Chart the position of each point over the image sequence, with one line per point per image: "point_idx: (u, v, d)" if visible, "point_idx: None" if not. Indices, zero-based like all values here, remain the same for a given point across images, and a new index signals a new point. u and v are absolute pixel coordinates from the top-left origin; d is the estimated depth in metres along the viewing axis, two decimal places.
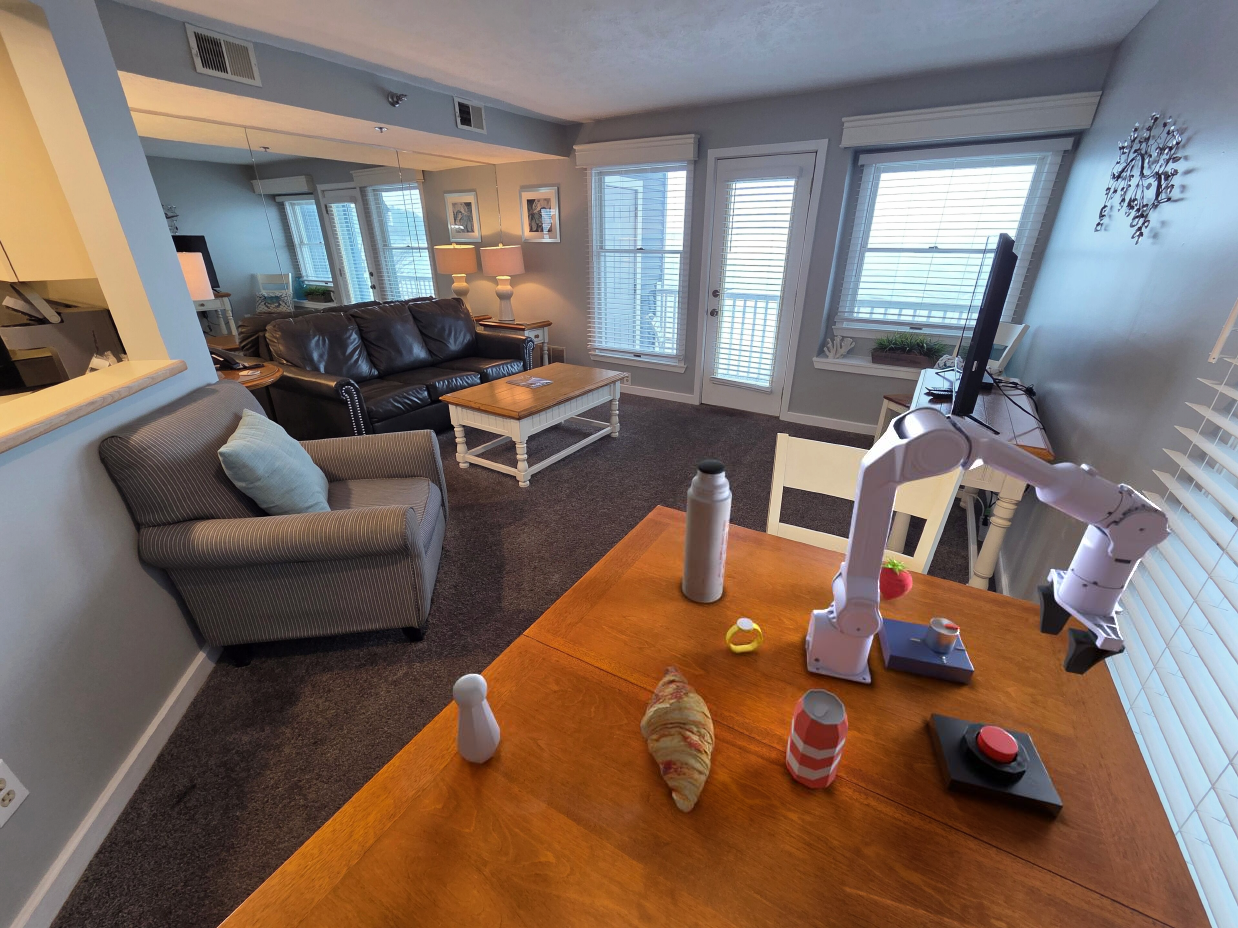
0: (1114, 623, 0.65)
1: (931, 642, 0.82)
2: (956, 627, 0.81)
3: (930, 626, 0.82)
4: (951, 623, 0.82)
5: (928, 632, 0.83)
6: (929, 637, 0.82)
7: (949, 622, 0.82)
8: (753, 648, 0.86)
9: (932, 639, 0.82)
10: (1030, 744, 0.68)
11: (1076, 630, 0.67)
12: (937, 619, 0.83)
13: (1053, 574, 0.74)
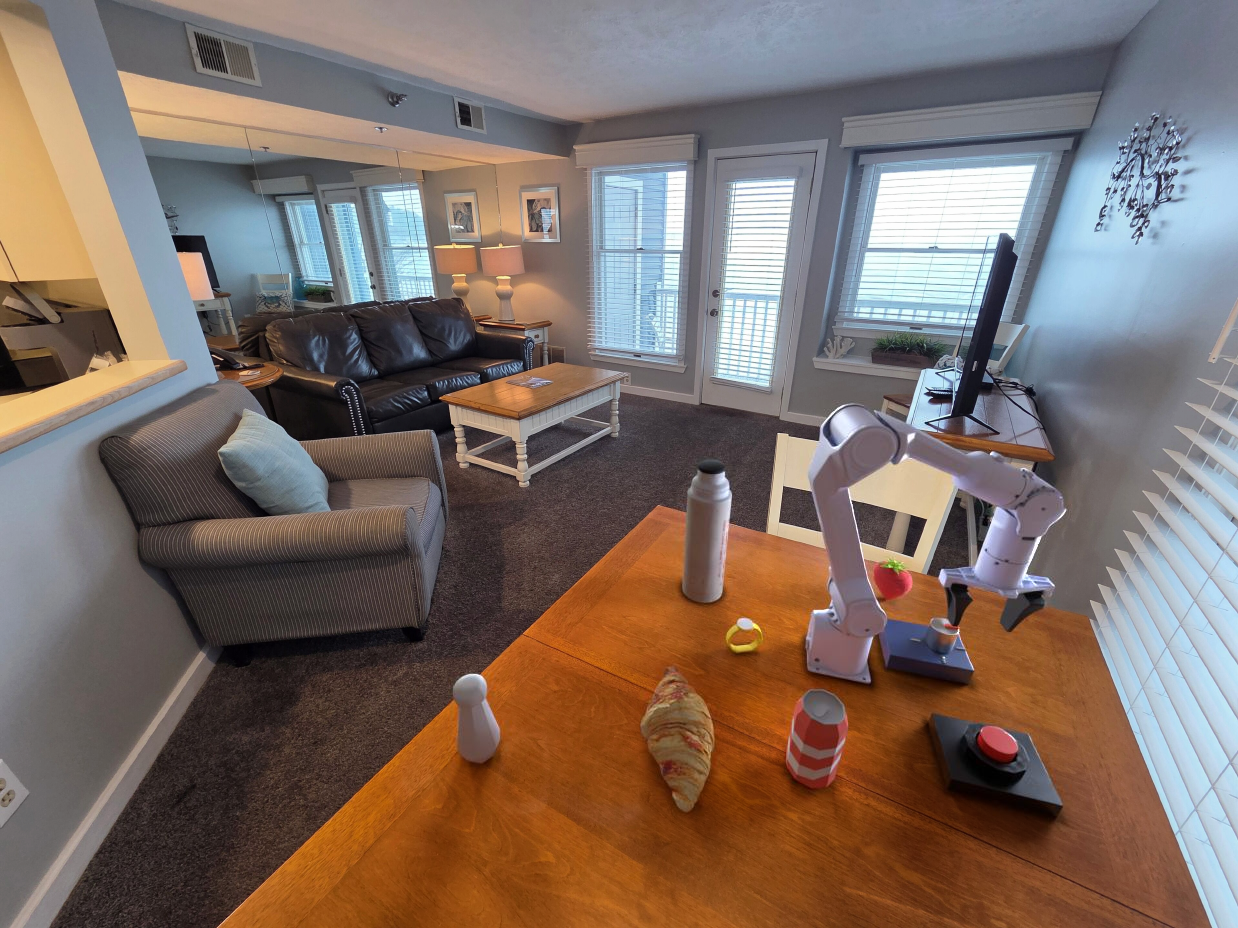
0: None
1: (931, 642, 0.82)
2: (956, 627, 0.81)
3: (930, 626, 0.82)
4: None
5: (928, 632, 0.83)
6: (929, 637, 0.82)
7: (949, 622, 0.82)
8: (753, 648, 0.86)
9: (932, 639, 0.82)
10: (1030, 744, 0.68)
11: None
12: (937, 619, 0.83)
13: None
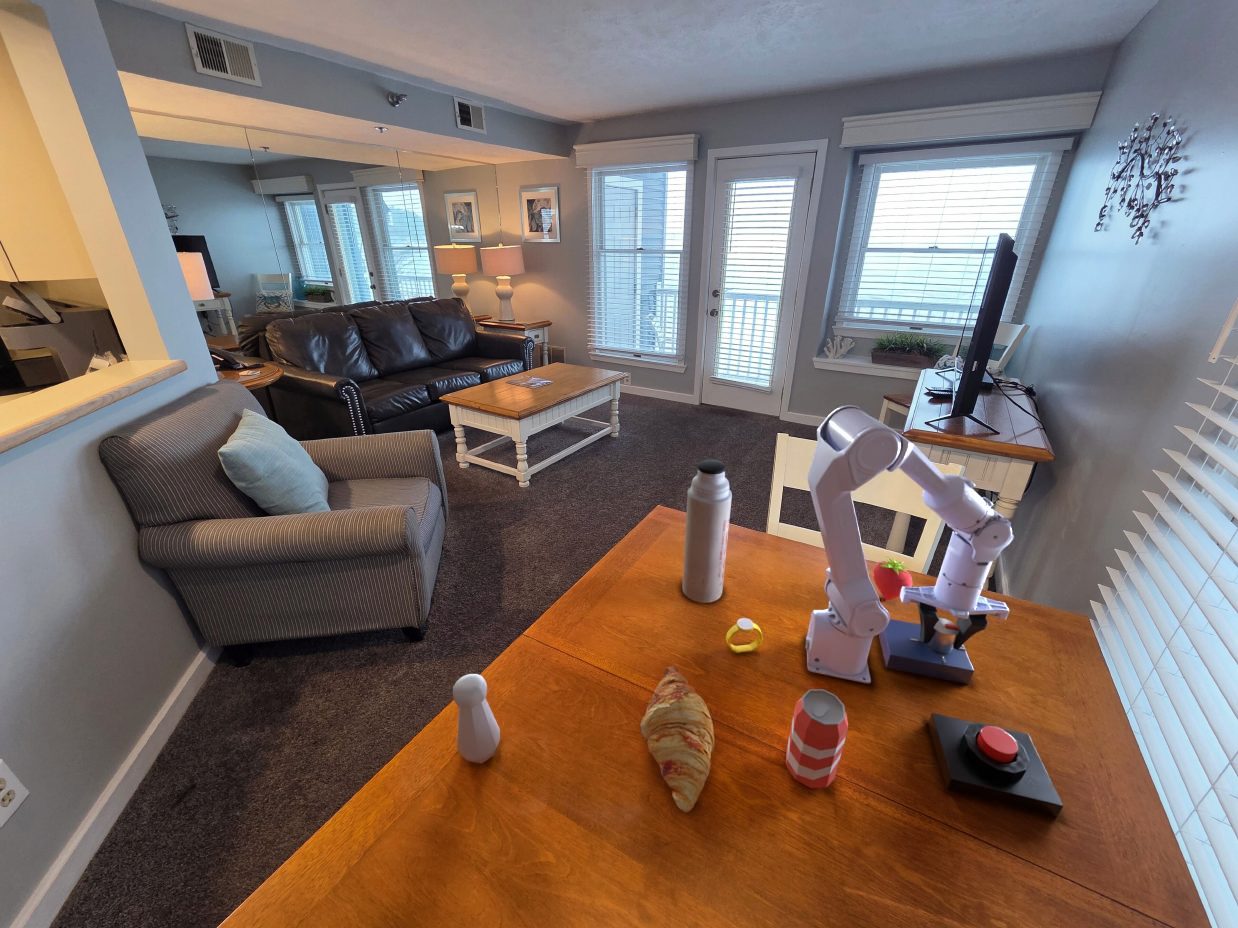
0: (929, 601, 0.79)
1: (931, 642, 0.82)
2: (956, 627, 0.81)
3: None
4: (951, 623, 0.82)
5: None
6: None
7: (949, 622, 0.82)
8: (753, 648, 0.86)
9: (932, 639, 0.82)
10: (1030, 744, 0.68)
11: None
12: None
13: None
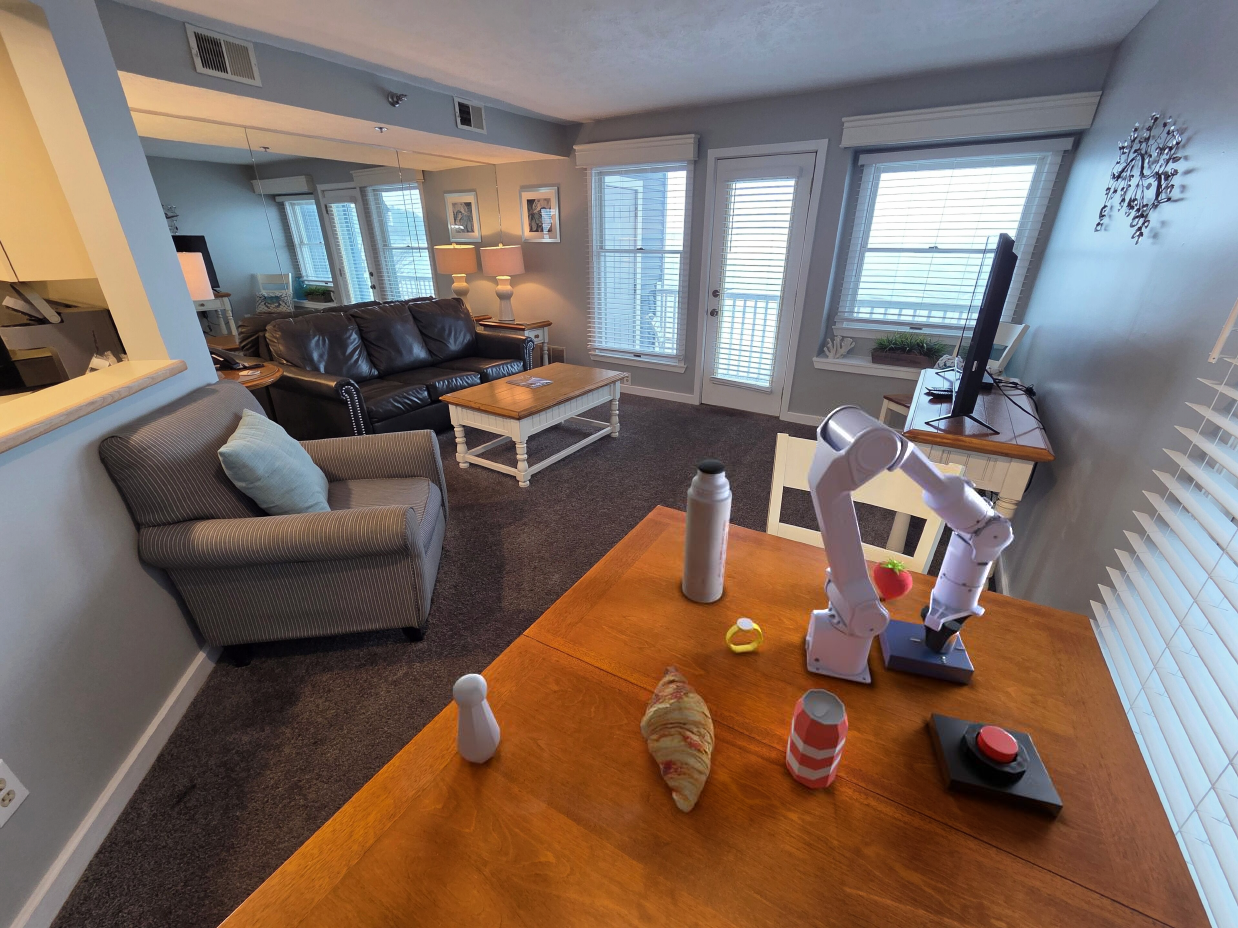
0: (955, 614, 0.76)
1: None
2: None
3: None
4: None
5: None
6: None
7: None
8: (753, 648, 0.86)
9: None
10: (1030, 744, 0.68)
11: (930, 608, 0.80)
12: None
13: None
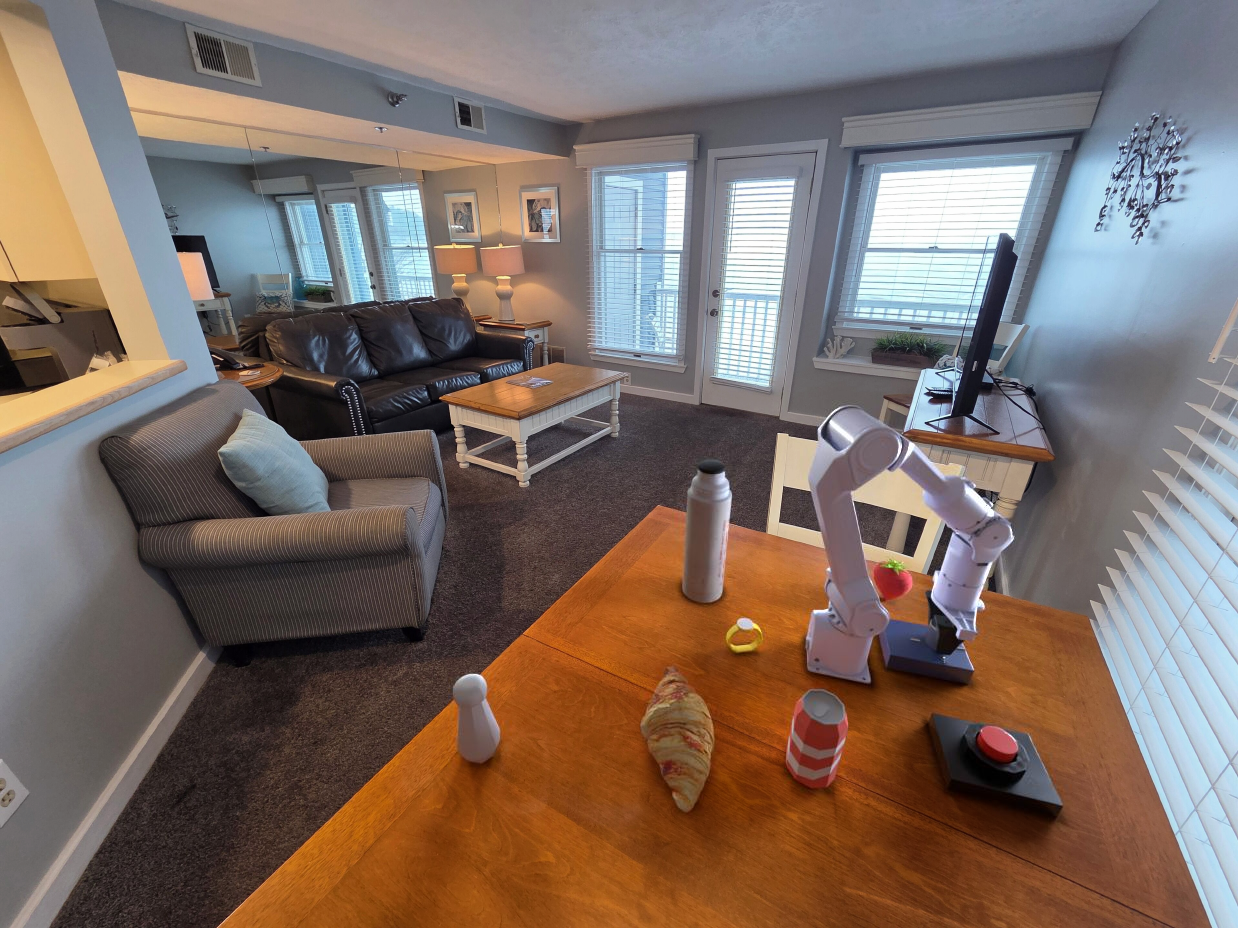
0: (973, 617, 0.75)
1: None
2: None
3: None
4: None
5: None
6: None
7: None
8: (753, 648, 0.86)
9: None
10: (1030, 744, 0.68)
11: (941, 617, 0.78)
12: (936, 627, 0.81)
13: (935, 575, 0.85)
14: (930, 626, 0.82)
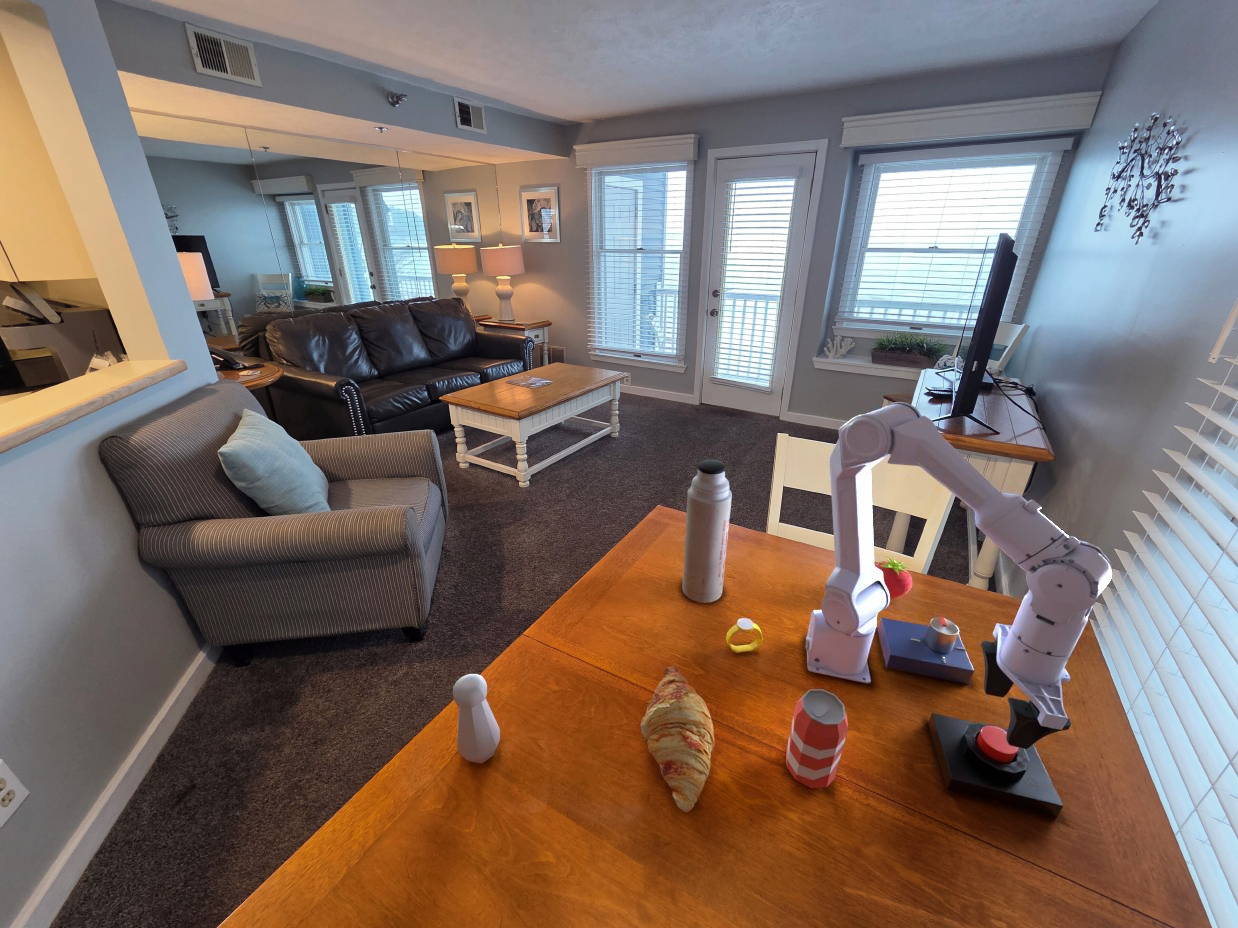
0: (1059, 695, 0.57)
1: (951, 647, 0.81)
2: (943, 618, 0.83)
3: (948, 636, 0.80)
4: (936, 619, 0.83)
5: (946, 643, 0.81)
6: (949, 645, 0.81)
7: (935, 620, 0.83)
8: (753, 648, 0.86)
9: (952, 643, 0.81)
10: None
11: (1017, 701, 0.59)
12: (936, 627, 0.81)
13: (998, 630, 0.66)
14: (930, 626, 0.82)
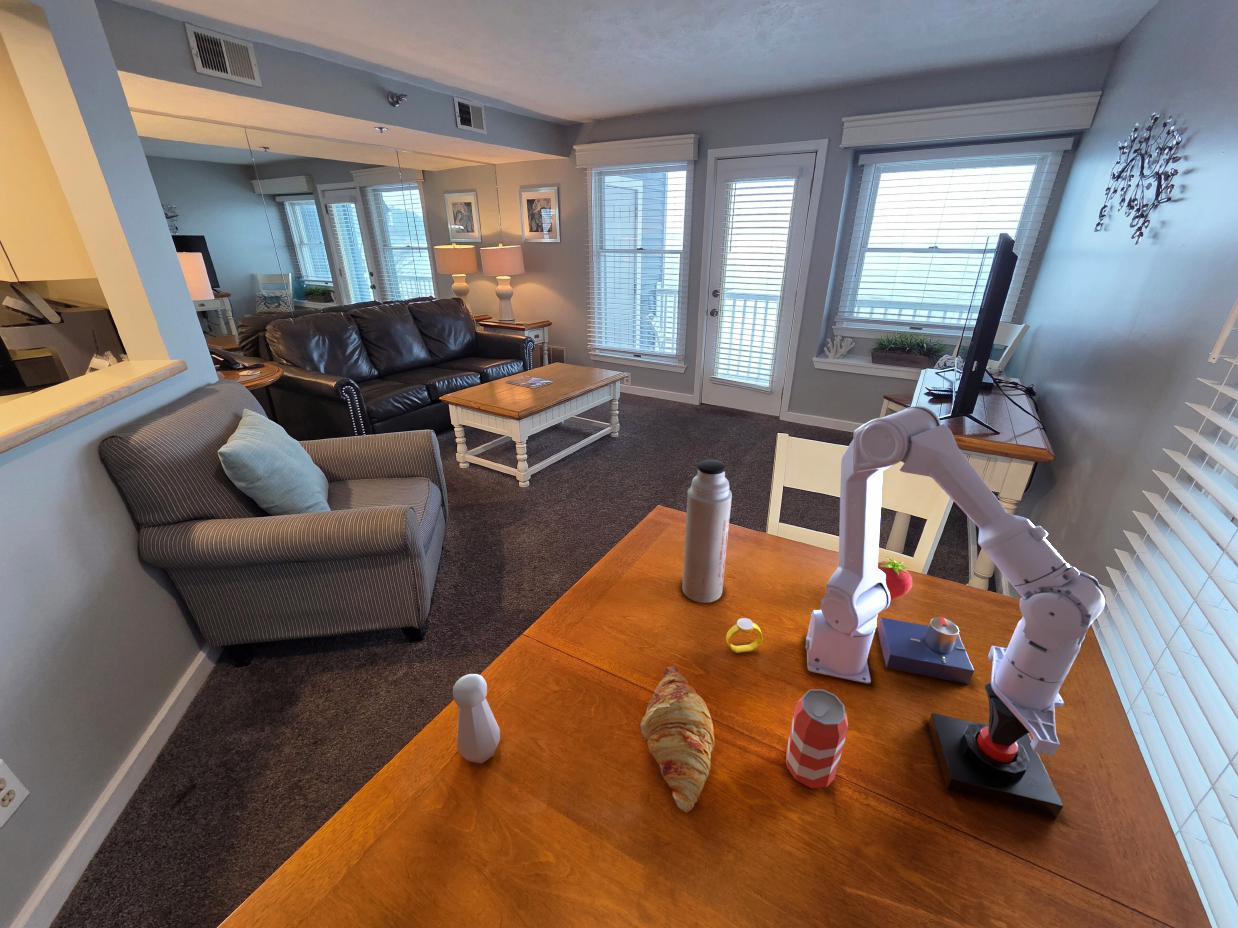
0: (1052, 720, 0.58)
1: (951, 647, 0.81)
2: (943, 618, 0.83)
3: (948, 636, 0.80)
4: (936, 619, 0.83)
5: (946, 643, 0.81)
6: (949, 645, 0.81)
7: (935, 620, 0.83)
8: (753, 648, 0.86)
9: (952, 643, 0.81)
10: (1030, 744, 0.68)
11: (1000, 701, 0.62)
12: (936, 627, 0.81)
13: (993, 652, 0.67)
14: (930, 626, 0.82)
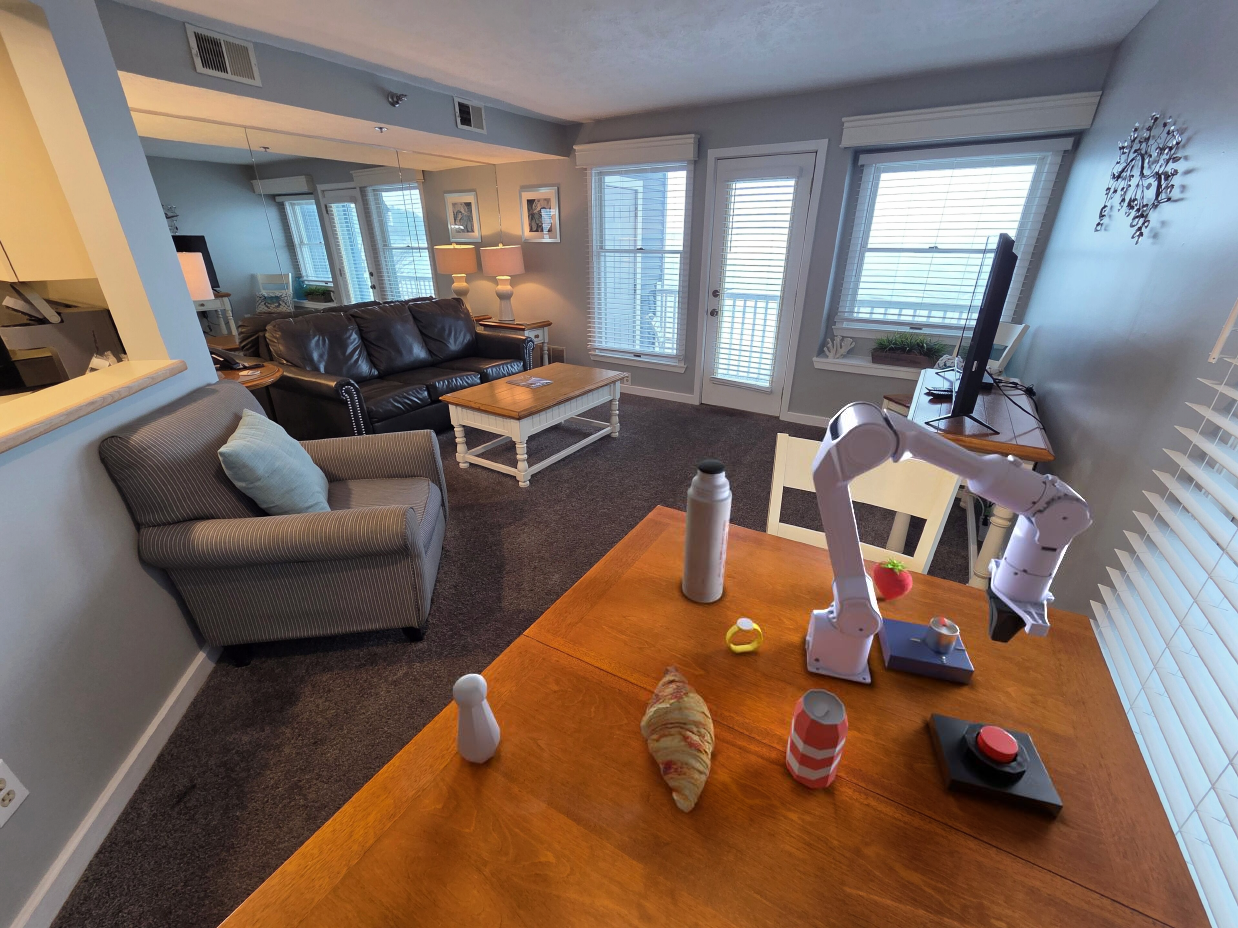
0: (1043, 610, 0.67)
1: (951, 647, 0.81)
2: (943, 618, 0.83)
3: (948, 636, 0.80)
4: (936, 619, 0.83)
5: (946, 643, 0.81)
6: (949, 645, 0.81)
7: (935, 620, 0.83)
8: (753, 648, 0.86)
9: (952, 643, 0.81)
10: (1030, 744, 0.68)
11: (998, 600, 0.71)
12: (936, 627, 0.81)
13: (993, 564, 0.76)
14: (930, 626, 0.82)
